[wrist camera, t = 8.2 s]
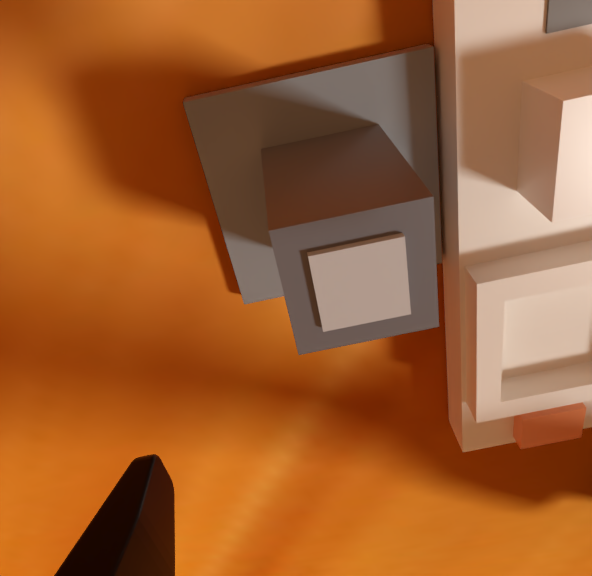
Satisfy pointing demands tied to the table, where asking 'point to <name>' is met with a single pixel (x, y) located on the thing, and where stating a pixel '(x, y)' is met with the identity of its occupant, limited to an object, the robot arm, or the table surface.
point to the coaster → (304, 125)
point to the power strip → (516, 217)
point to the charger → (351, 238)
